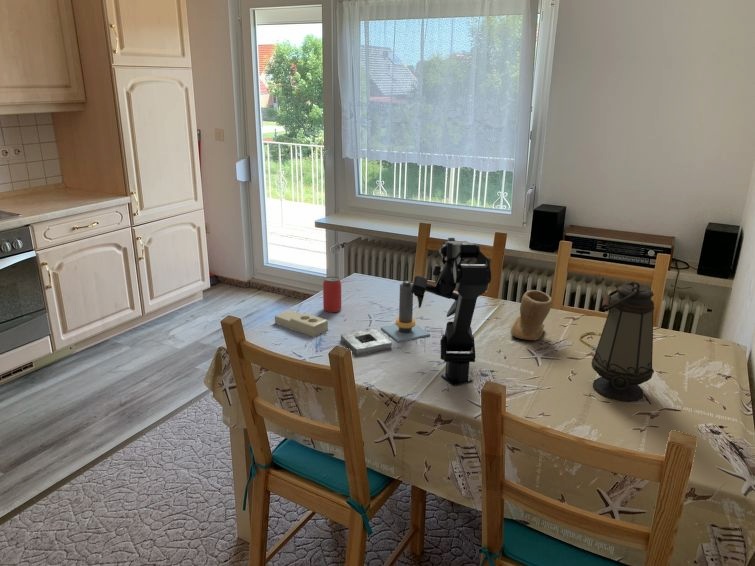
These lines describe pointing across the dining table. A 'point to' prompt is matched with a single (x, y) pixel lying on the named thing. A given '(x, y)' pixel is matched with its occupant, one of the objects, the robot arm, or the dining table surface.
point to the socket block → (360, 348)
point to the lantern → (625, 344)
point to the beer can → (332, 294)
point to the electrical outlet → (302, 322)
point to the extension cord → (587, 343)
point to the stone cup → (531, 315)
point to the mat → (399, 337)
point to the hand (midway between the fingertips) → (433, 311)
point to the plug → (405, 308)
